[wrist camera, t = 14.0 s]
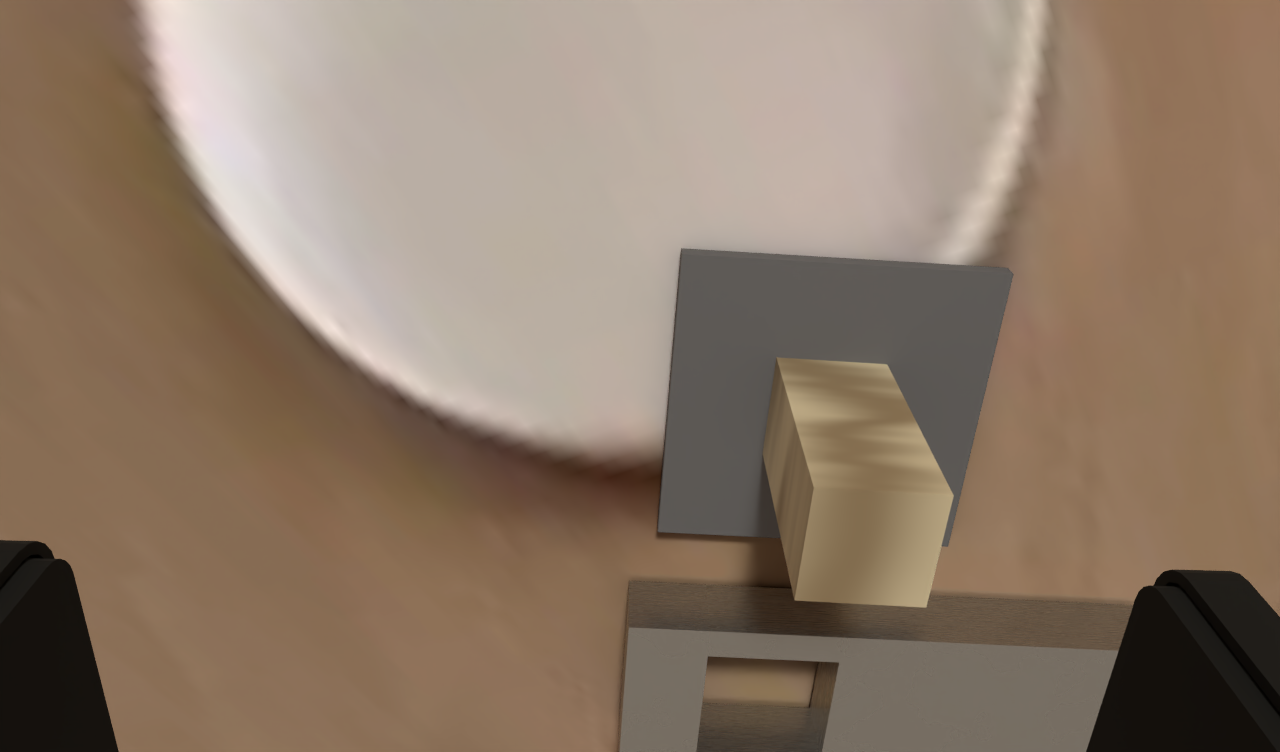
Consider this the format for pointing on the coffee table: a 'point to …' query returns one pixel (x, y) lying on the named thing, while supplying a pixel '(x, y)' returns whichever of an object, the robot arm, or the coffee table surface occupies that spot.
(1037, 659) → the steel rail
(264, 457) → the coffee table surface
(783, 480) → the birch peg
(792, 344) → the charcoal mat
